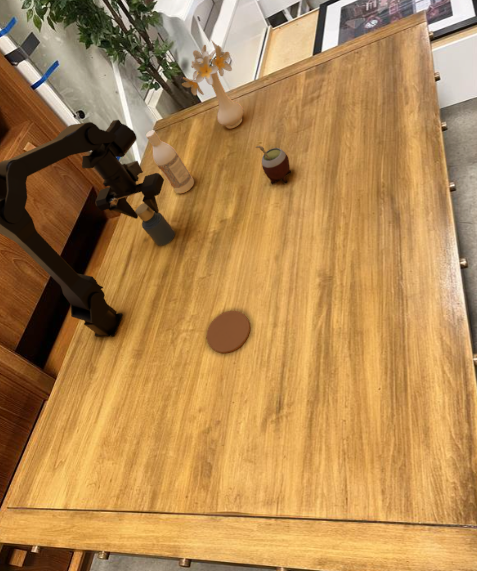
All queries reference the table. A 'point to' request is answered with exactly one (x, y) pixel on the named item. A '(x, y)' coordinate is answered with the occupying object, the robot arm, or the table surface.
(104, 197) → the robot arm
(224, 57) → the flower vase
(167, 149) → the bath foam
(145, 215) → the cap
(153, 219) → the bottle
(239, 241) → the table surface
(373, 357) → the table surface
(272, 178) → the mate gourd
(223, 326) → the coaster
